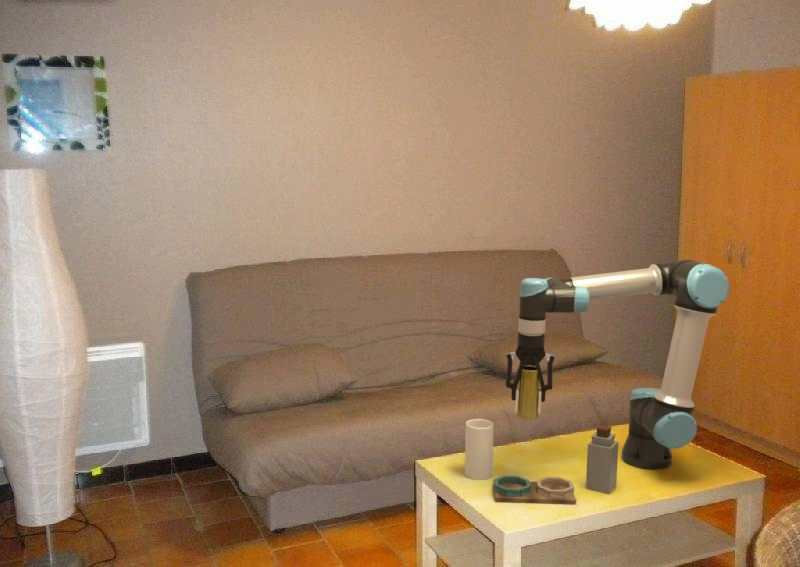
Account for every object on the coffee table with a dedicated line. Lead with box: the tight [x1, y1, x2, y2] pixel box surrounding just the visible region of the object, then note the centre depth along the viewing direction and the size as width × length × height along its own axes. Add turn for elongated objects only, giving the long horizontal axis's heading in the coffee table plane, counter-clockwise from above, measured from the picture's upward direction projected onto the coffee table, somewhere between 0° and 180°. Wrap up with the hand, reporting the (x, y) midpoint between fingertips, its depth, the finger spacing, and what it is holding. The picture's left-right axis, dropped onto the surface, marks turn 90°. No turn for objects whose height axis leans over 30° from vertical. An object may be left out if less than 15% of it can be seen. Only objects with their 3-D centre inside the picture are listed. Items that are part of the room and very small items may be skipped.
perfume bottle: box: [585, 424, 619, 495], centre depth 226 cm, size 7×7×18 cm
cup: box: [464, 418, 494, 481], centre depth 235 cm, size 8×8×16 cm
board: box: [492, 475, 577, 505], centre depth 222 cm, size 22×12×3 cm, turn 86°
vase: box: [516, 365, 540, 420], centre depth 226 cm, size 6×6×14 cm
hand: (527, 411), depth 226 cm, fingers closed on vase, 6 cm apart
